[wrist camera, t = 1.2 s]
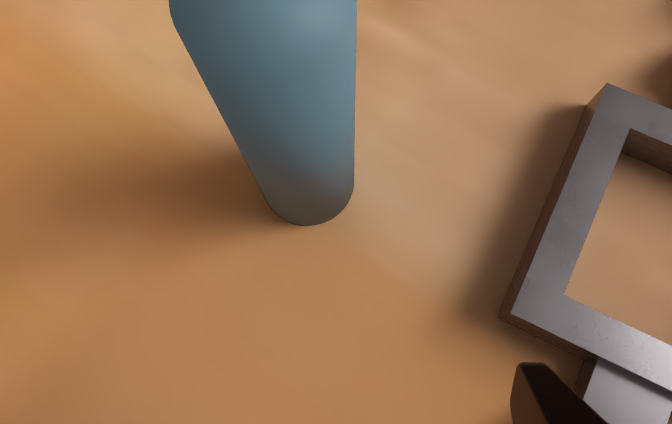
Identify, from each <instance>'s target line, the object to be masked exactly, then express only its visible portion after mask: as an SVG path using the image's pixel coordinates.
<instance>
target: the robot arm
mask: <svg viewBox="0 0 672 424" xmlns="http://www.w3.org/2000/svg"><path fill="white" fill-rule="evenodd" d="M510 409H511V415H512V420H513V424H608V423H607V422H606V421H605V420H604V419H603V418H602V417H601V416H600V415H599V414H598V413H597V412H596V411H595V410H593V409H592V408H591V407H590V406H589V405H588V404H587V403H586V402H585V401H584V400H583V399H582V398H581V397H580V396H579V395H578V394H577V393H576V392H575V391H574V390H572V389H571V388H570V387H569V386H568V385H567V384H566V383H565V382H564V381H563V380H562V379H561V378H560V377H559V376H558V375H557V374H556V373H555V372H554V371H553V370H552V369H550V368H549V367H548V366H547V365H546V364H544V363H529V362H522V363H520V364H518V366H517V368H516V372H515V377H514V382H513V387H512V392H511V397H510Z"/></svg>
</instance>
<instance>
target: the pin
mask: <svg viewBox="0 0 672 424" xmlns="http://www.w3.org/2000/svg"><path fill="white" fill-rule="evenodd" d="M169 7H170V14H171V17H172V20H173V23H174V26H175V28H176V30H177V32H178V34H179V36H180V38H181V40H182V41H183V43H184V45H185V47H186V49H187V51H188V53H189V55H190V57H191V58H192V60H193V62H194V64H195V66H196V68H197V70H198V72H199V74H200V76H201V77H202V79H203V81H204V83H205V85H206V87H207V89H208V91H209V93H210V94H211V96H212V98H213V100H214V102H215V104H216V106H217V108H218V110H219V111H220V113H221V115H222V117H223V119H224V121H225V123H226V125H227V127H228V129H229V130H230V132H231V134H232V136H233V138H234V140H235V142H236V144H237V146H238V147H239V149H240V151H241V153H242V155H243V157H244V159H245V161H246V163H247V164H248V166H249V168H250V170H251V172H252V174H253V176H254V178H255V180H256V182H257V183H258V185H259V187H260V189H261V191H262V193H263V195H264V197H265V199H266V200H267V202H268V204H269V206H270V207H271V209H272V210H273V211H274V212H275V213H276V214H277V215H278V216H280V217H281V218H283V219H284V220H286V221H288V222H291V223H294V224H298V225H307V226H309V225H317V224H321V223H324V222H327V221H329V220H331V219H332V218H334V217H335V216H337V215H338V214H339V213H340V212H341V211H342V210H343V209H344V208H345V206H346V205H347V203H348V202H349V200H350V198H351V195H352V192H353V187H354V141H355V79H356V17H357V0H169Z"/></svg>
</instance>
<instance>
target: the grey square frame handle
mask: <svg viewBox="0 0 672 424" xmlns="http://www.w3.org/2000/svg"><path fill="white" fill-rule="evenodd" d="M620 152H622V153H625V154H627V155H629V156H632V157H634V158H636V159H639V160H641V161H643V162H646V163H648V164H650V165H653V166H655V167H657V168H660V169H662V170H664V171H667V172H669V173H671V174H672V109H669V108H667V107H664V106H662V105H660V104H657V103H655V102H652V101H650V100H647V99H645V98H643V97H640V96H638V95H635V94H633V93H630V92H628V91H626V90H623V89H621V88H618V87H616V86H613V85H611V84H609V83H606V85H605V86H604V87H603V88H602V89H601V90H600V91H599V92H598V93H597V94H596V95H595V97H594V98H593V99H592V100H591V101H590V102H589V103H588V104H587V106H586V108H585V111H584V113H583V116H582V118H581V120H580V123H579V125H578V127H577V130H576V132H575V134H574V137H573V139H572V141H571V144H570V146H569V149H568V151H567V153H566V156H565V158H564V160H563V163H562V165H561V167H560V170H559V172H558V174H557V177H556V179H555V181H554V184H553V186H552V189H551V191H550V193H549V196H548V198H547V200H546V203H545V205H544V207H543V210H542V212H541V214H540V217H539V219H538V222H537V224H536V226H535V229H534V231H533V233H532V236H531V238H530V240H529V243H528V245H527V247H526V250H525V252H524V254H523V257H522V259H521V262H520V264H519V266H518V269H517V271H516V273H515V276H514V278H513V280H512V283H511V285H510V287H509V290H508V292H507V295H506V297H505V299H504V302H503V304H502V306H501V309H500V311H499V313H498V316H497V317H498V318H500V319H502V320H504V321H506V322H508V323H510V324H512V325H514V326H516V327H518V328H520V329H522V330H524V331H526V332H528V333H530V334H533V335H535V336H537V337H539V338H541V339H543V340H545V341H547V342H549V343H551V344H553V345H555V346H557V347H559V348H561V349H563V350H565V351H568V352H570V353H572V354H574V355H576V356H578V357H580V358H582V359H584V360H585V361H584V364H583V367H582V369H581V372H580V374H579V377H578V380H577V382H576V385H575V388H574V391H575V392H576V393H577V394H578V395H579V396H580V397H581V398H582V399H583V400H584V401H585V402H586V403H587V404H588V405H589V406H590V407H591V408H592V409H593V410H595V411H596V412H597V413H598V414H599V415H600V416H601V417H602V418H603V419H604V420H605V421H606V422H607V423H608V424H667V423H668V420H669V417H670V414H671V411H672V346H670V345H668V344H666V343H664V342H662V341H660V340H658V339H656V338H653V337H651V336H649V335H647V334H645V333H643V332H641V331H639V330H636V329H634V328H632V327H630V326H628V325H626V324H624V323H622V322H620V321H617V320H615V319H613V318H611V317H609V316H607V315H605V314H603V313H600V312H598V311H596V310H594V309H592V308H590V307H588V306H586V305H584V304H581V303H579V302H577V301H575V300H573V299H571V298H569V297H567V296H564V295H563V294H564V292H565V289H566V287H567V284H568V282H569V279H570V277H571V274H572V272H573V269H574V267H575V264H576V262H577V259H578V257H579V254H580V252H581V249H582V247H583V244H584V242H585V239H586V237H587V234H588V232H589V229H590V227H591V224H592V222H593V219H594V217H595V214H596V212H597V209H598V207H599V204H600V202H601V199H602V197H603V194H604V192H605V189H606V187H607V184H608V182H609V179H610V177H611V174H612V172H613V169H614V167H615V164H616V162H617V159H618V157H619V154H620Z"/></svg>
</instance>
